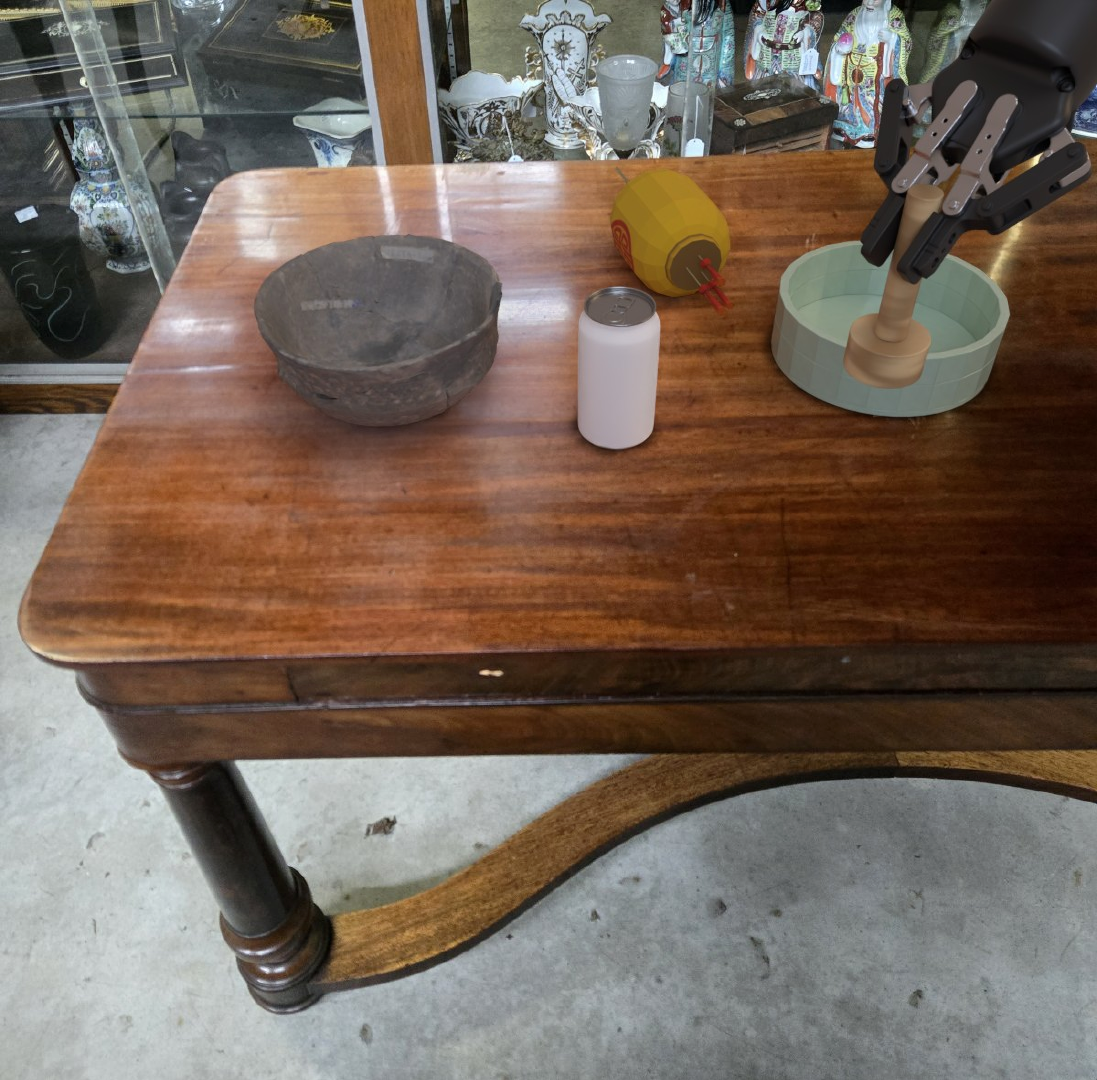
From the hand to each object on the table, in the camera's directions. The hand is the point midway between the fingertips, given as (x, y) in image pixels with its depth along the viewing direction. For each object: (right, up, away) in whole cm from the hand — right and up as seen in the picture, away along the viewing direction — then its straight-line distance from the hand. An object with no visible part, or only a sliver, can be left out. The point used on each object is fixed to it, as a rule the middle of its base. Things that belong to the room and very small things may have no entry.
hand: (888, 267), depth 61 cm
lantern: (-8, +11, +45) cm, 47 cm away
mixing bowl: (+10, +1, +35) cm, 36 cm away
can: (-14, -7, +27) cm, 32 cm away
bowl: (-34, -3, +32) cm, 46 cm away
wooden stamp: (+2, -5, +6) cm, 8 cm away
